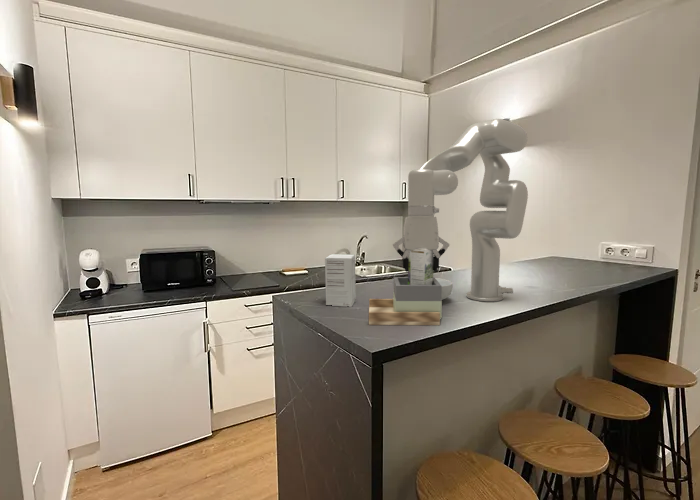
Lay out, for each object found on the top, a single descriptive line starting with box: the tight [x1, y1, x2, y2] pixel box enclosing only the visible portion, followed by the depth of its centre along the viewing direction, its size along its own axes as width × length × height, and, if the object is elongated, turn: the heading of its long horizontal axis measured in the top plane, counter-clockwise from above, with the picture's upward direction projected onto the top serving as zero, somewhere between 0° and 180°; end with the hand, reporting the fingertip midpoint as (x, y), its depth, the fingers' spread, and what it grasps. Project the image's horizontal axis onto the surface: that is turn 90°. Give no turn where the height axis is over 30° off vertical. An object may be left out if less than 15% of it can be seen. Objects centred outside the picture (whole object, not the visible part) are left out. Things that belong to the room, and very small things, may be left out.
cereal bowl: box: [434, 277, 453, 301], centre depth 130 cm, size 17×17×7 cm
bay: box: [368, 298, 441, 326], centre depth 111 cm, size 20×16×4 cm
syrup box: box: [407, 248, 434, 285], centre depth 109 cm, size 6×6×14 cm
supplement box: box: [324, 253, 357, 308], centre depth 127 cm, size 10×9×17 cm
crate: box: [392, 276, 443, 319], centre depth 110 cm, size 13×13×10 cm
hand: (420, 270), depth 109 cm, fingers closed on syrup box, 8 cm apart
